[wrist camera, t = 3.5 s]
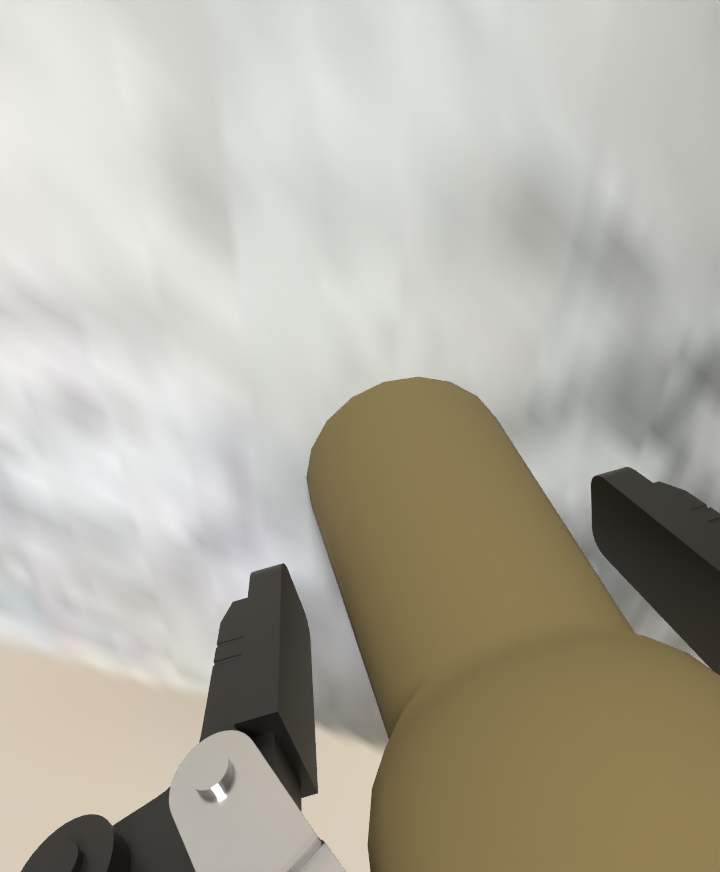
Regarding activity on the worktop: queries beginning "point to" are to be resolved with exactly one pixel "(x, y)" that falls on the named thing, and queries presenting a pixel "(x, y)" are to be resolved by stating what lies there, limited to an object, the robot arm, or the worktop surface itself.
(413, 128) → the worktop surface
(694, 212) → the worktop surface
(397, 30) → the worktop surface
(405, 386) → the cork
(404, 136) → the worktop surface
